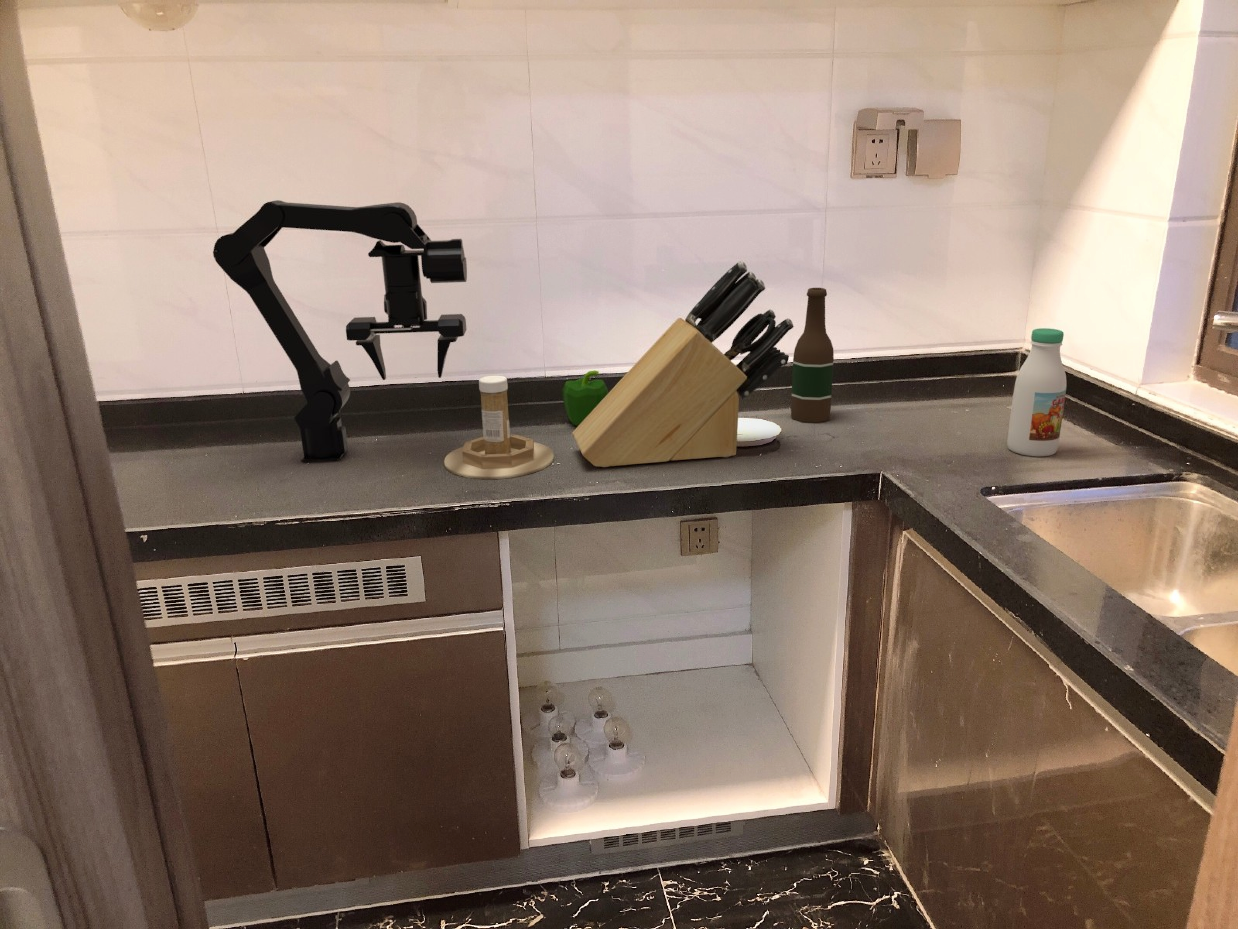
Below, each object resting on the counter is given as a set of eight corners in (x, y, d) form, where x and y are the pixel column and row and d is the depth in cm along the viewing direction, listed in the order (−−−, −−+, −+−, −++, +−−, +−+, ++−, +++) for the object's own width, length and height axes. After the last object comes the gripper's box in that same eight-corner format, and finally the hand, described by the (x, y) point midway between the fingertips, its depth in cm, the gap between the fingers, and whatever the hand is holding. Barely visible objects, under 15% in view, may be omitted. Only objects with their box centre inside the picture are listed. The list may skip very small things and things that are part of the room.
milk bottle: (1007, 455, 150) (1022, 333, 143) (1005, 440, 156) (1020, 324, 150) (1058, 459, 147) (1077, 336, 140) (1055, 445, 154) (1072, 326, 147)
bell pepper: (556, 427, 169) (553, 374, 166) (573, 415, 176) (571, 364, 173) (598, 431, 166) (597, 378, 163) (614, 419, 173) (613, 367, 170)
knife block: (792, 454, 152) (800, 265, 142) (582, 472, 146) (575, 276, 136) (768, 434, 163) (775, 256, 152) (572, 450, 157) (565, 266, 146)
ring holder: (438, 481, 143) (437, 465, 143) (450, 445, 160) (449, 431, 160) (553, 476, 144) (552, 461, 144) (553, 441, 161) (553, 427, 161)
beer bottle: (800, 409, 177) (806, 284, 169) (838, 415, 172) (846, 287, 164) (782, 419, 171) (787, 290, 163) (821, 426, 166) (828, 293, 158)
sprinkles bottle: (517, 454, 153) (512, 376, 148) (500, 462, 149) (495, 382, 145) (494, 450, 155) (489, 373, 151) (478, 458, 151) (472, 379, 147)
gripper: (465, 275, 156) (472, 364, 161) (354, 278, 155) (365, 368, 160) (459, 285, 145) (466, 380, 151) (339, 288, 144) (351, 385, 150)
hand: (412, 378), depth 153 cm, fingers open, 9 cm apart
